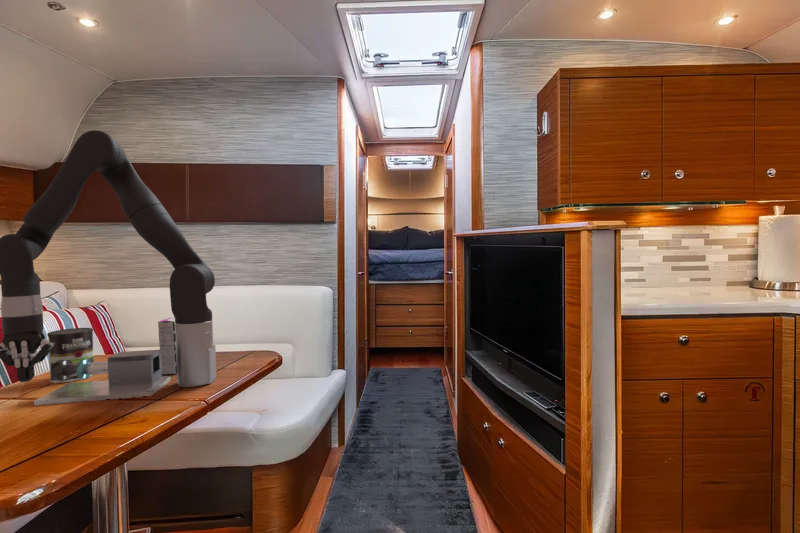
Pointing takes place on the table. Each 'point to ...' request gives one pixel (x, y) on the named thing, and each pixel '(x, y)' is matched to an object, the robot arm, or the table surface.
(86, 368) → the shaft
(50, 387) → the table surface
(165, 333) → the candy bar box
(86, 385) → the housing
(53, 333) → the coffee can
